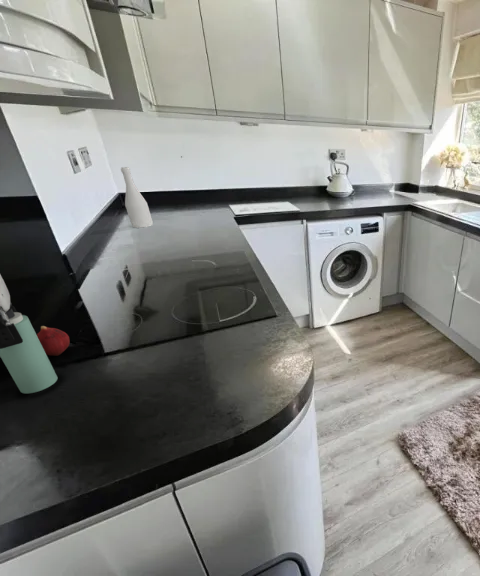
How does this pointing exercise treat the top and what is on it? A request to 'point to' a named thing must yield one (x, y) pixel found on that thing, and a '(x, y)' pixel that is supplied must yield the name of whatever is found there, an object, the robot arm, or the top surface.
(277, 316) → the top surface
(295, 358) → the top surface
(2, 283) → the robot arm
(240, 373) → the top surface
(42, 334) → the onion
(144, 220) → the wine bottle
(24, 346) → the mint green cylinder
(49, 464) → the top surface
